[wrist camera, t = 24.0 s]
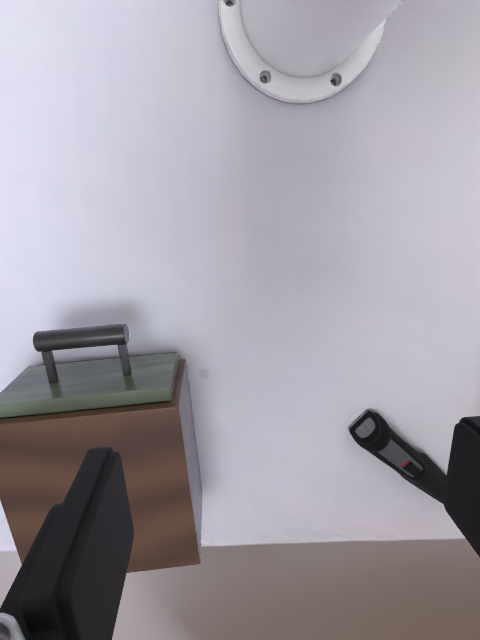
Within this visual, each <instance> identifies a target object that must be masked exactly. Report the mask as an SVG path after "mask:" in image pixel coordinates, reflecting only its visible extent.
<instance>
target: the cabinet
mask: <svg viewBox="0 0 480 640" xmlns="http://www.w3.org/2000/svg"><path fill="white" fill-rule="evenodd" d="M178 362H179V365H178V370H177V375H176V381H175V386H174V392H173V397H172V401H168V402H166V403H156V404H146V405H136V406H126V407H116V408H106V409H96V410H86V411H76V412H66V413H56V414H46V415H37V416H27V417H22V416H16V417H6V418H0V500H1V503H2V506H3V509H4V512H5V515H6V518H7V521H8V524H9V527H10V530H11V533H12V536H13V539H14V542H15V545H16V548H17V551H18V554H19V557H20V560H21V563H22V564H23V562H24V560H25V558H26V556H27V554H28V552H29V550H30V548H31V546H32V544H33V542H34V540H35V538H36V536H37V534H38V532H39V530H40V528H41V526H42V524H43V522H44V520H45V518H46V516H47V514H48V512H49V511H50V509H51V508H52V506H54V505H55V504H61V503H63V502H64V500H65V498H66V496H67V494H68V491H69V489H70V487H71V485H72V483H73V481H74V479H75V477H76V474H77V472H78V470H79V468H80V466H81V464H82V462H83V460H84V458H85V455H86V453H87V451H88V450H89V449H90V448H100V447H112V448H113V451H114V452H120V454H121V459H122V465H123V471H124V476H125V482H126V488H127V493H128V499H129V504H130V510H131V516H132V521H133V527H134V539H133V545H132V550H131V554H130V559H129V563H128V568H127V572H126V573H129V572H138V571H146V570H154V569H162V568H171V567H179V566H187V565H196V564H200V557H201V556H200V554H201V520H202V485H201V477H200V470H199V462H198V454H197V446H196V438H195V430H194V422H193V414H192V406H191V398H190V390H189V382H188V374H187V366H186V360H178Z"/></svg>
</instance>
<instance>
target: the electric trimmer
mask: <svg viewBox="0 0 480 640" xmlns="http://www.w3.org/2000/svg"><path fill="white" fill-rule="evenodd" d="M358 418H359V419H357V420H356V421H355V422H354V423H353V424H352V425H351V427H350V430H349V431H350V434H351V435H352V436H353V438H354V440H355V441H356V442H357V443H358V444H359V445H360V446H361V447H362V448H364V449H366V450H367V451H369V452H370V453H371V454H373V455H374V456H376V457H377V458H378V459H380V460H381V461H383V462H384V463H385V464H387V465H388V466H390V467H391V468H393V469H394V470H396V471H397V472H398V473H399V474H400V475H401V476H402V477H403V478H404V479H406V480H407V481H409V482H410V483H412V484H413V485H415V486H416V487H418V488H419V489H421V490H422V491H424V492H425V493H427V494H428V495H430V496H432V497H433V498H435V499H436V500H438V501H439V502H441V503H443V504H444V502H443V496H444V490H445V484H446V477H447V476H446V475H445V474H444V473H443V472H442V471H441V470H440V469H439V468H438V466H437V465H436V464H435V463H434V462H433V461H432V460H431V459H430V458H429V457H428V456H427V455H426V454H424V453H418V452H416V451H415V450H414V449H413V448H412V447H410V446H409V445H408V444H407V443H406V442H404V441H403V440H402V439H401V438H400V437H399V436H397V435H396V434H395V433H394V432H393V431H392V430H391V429H390V428H389V426H388V424H387V423H386V421H385V420H384V419H383V418H382V417H381V416H379V415H378V414H377V413H374V412H373V413H372V412H371V411H367V412H366V411H364V413H363V414H362V415H361V416H360V417H358Z"/></svg>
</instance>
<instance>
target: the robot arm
mask: <svg viewBox="0 0 480 640" xmlns="http://www.w3.org/2000/svg"><path fill="white" fill-rule="evenodd" d="M228 1H230V2H231V3H232V6H230V7H229V6H227V5H226V2H228ZM403 1H404V0H218V10H219V19H220V27H221V31H222V35H223V38H224V42H225V45H226V48H227V50H228V52H229V54H230V56H231V58H232V60H233V62H234V64H235V65H236V67H237V68H238V69H239V71H240V72H241V74H242V75H243V76H244V77H245V78H246V79H247V80H248V81H249V82H250V83H251V84H252V85H253V86H254V87H255V88H256V89H258V90H260V91H261V92H263V93H264V94H266V95H267V96H269V97H272V98H275V99H277V100H280V101H283V102H290V103H297V104H298V103H312V102H315V101H319V100H322V99H326V98H328V97H330V96H332V95H333V94H335V93H337V92H339V91H341V90H342V89H343V88H344V87H346V86H347V85H349V84H350V83H351V82H352V81H353V80H354V79H355V78H356V77H357V76H358V75H359V74H360V73H361V72H362V71H363V70H364V68H365V67H366V65H367V64H368V63H369V61H370V60H371V58H372V57H373V55H374V53H375V51H376V49H377V47H378V45H379V43H380V41H381V37H382V34H383V31H384V28H385V25H386V20H387V17H388V16H389V15H390V14H391V13H392V12H393V11H394V10H395V9H396V8H397V7H398V6H399V5H400V4H401V3H402V2H403ZM262 77H266V78H267V82H266V83H263V82H262V81H261V78H262ZM332 79H333V80H335V83H336V84H335V86H333V85H332V84H331V80H332ZM443 502H444V507H445V509H446V511H447V513H448V514H449V516H450V517H451V518H452V520H453V521H454V523H455V524H456V525H457V527H458V528H459V529H460V531H461V532H462V534H463V535H464V536H465V538H466V539H467V540H468V542H469V543H470V544H471V546H472V547H473V549H474V550H475V551H476V553H477V554H478V555H479V557H480V416H475V417H464V418H462V419H461V420H460V422H459V423H458V424H456V425H455V428H454V433H453V440H452V446H451V452H450V459H449V465H448V471H447V477H446V484H445V490H444V496H443ZM133 539H134V527H133V521H132V516H131V510H130V504H129V499H128V493H127V488H126V482H125V476H124V471H123V465H122V459H121V454H120V452H114V451H113V448H112V447H100V448H90V449H89V450H88V451H87V453H86V455H85V458H84V460H83V462H82V464H81V466H80V468H79V470H78V472H77V474H76V477H75V479H74V481H73V483H72V485H71V487H70V489H69V491H68V494H67V496H66V498H65V500H64V502H63V503H61V504H55V505H54V506H52V508H51V509H50V511H49V512H48V514H47V516H46V518H45V520H44V522H43V524H42V526H41V528H40V530H39V532H38V534H37V536H36V538H35V540H34V542H33V544H32V546H31V548H30V550H29V552H28V554H27V556H26V558H25V560H24V562H23V564H22V566H21V568H20V570H19V572H18V574H17V576H16V578H15V580H14V582H13V584H12V586H11V588H10V590H9V592H8V594H7V596H6V598H5V600H4V602H3V604H2V606H1V608H0V640H112V636H113V631H114V627H115V622H116V618H117V613H118V609H119V604H120V600H121V595H122V590H123V586H124V581H125V577H126V572H127V568H128V563H129V559H130V554H131V550H132V545H133Z"/></svg>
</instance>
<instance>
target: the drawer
mask: <svg viewBox="0 0 480 640" xmlns="http://www.w3.org/2000/svg"><path fill="white" fill-rule="evenodd" d="M128 341H129V331H128V327H127V325H126V324H117V325H106V326H95V327H83V328H72V329H61V330H50V331H39V332H36V333H35V334H34V337H33V344H34V347H35V349H36V351H38V352H41V351H42V356H43V360H44V364H45V365H38V366H28V367H27V368H26V369H25V370H24V371H23V372H22V373H21V374H20V375H19V376H18V377H17V378H16V379H15V380H14V381H12V382H11V383H10V384H9V385H8V386H7V387H6V388H5V389H4V390H3V391H2V392H1V393H0V418H6V417H16V416H22V417H27V416H37V415H46V414H56V413H66V412H76V411H86V410H96V409H106V408H116V407H126V406H136V405H146V404H156V403H166V402H168V401H172V397H173V392H174V386H175V381H176V375H177V370H178V365H179V362H178V355H177V352H176V353H166V354H155V355H145V356H134V357H129V354H128V349H127V343H128ZM117 344H118V349H119V355H120V358H113V359H102V360H91V361H81V362H70V363H60V364H55V361H54V357H53V353H52V350H63V349H74V348H85V347H95V346H106V345H117Z"/></svg>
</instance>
